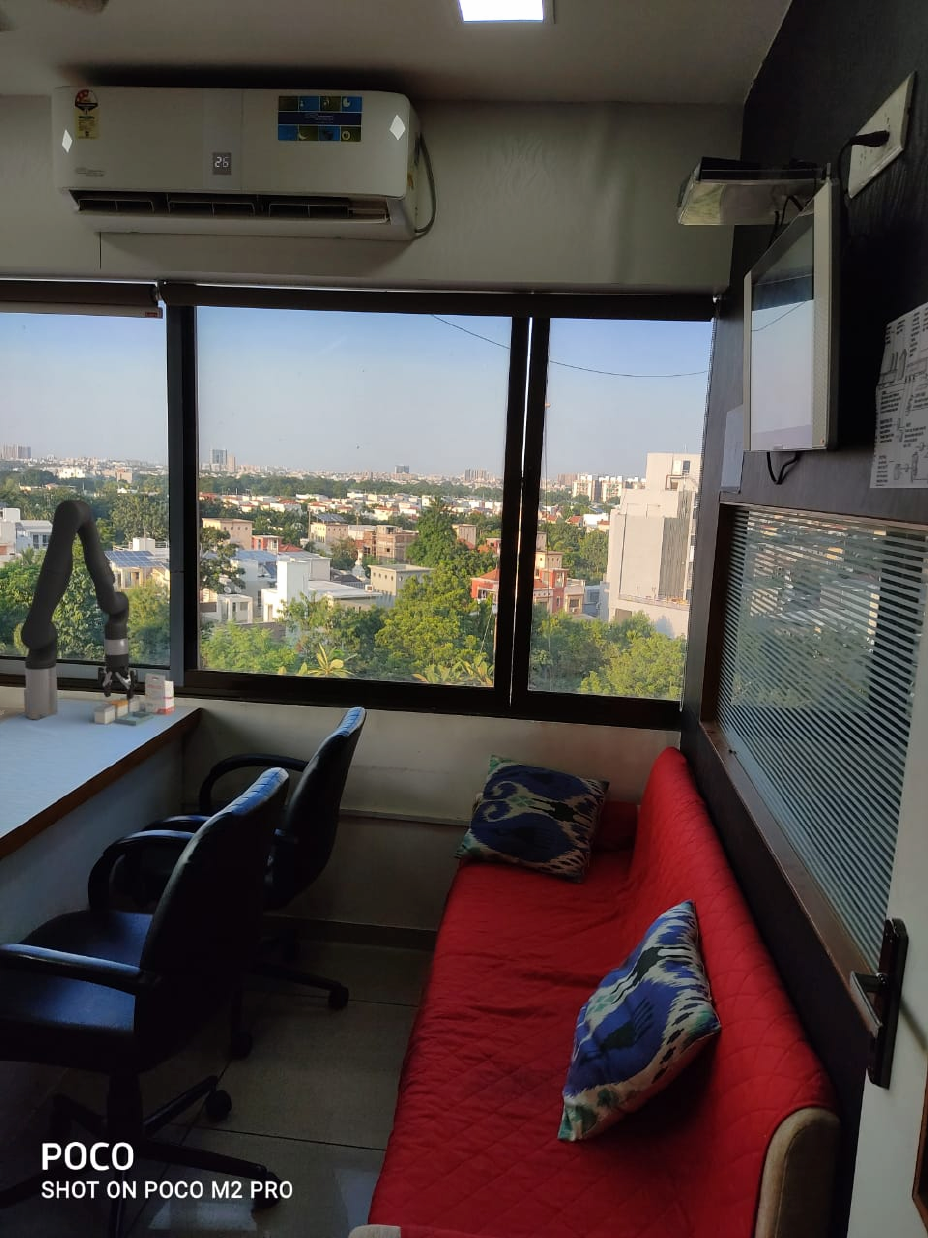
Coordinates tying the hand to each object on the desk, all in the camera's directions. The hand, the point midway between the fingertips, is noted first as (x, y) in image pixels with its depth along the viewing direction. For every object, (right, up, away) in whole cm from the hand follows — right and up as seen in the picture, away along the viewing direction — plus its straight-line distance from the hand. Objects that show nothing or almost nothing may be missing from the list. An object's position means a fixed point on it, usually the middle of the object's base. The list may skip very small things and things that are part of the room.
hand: (118, 698), depth 283 cm
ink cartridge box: (+11, -7, +9) cm, 15 cm away
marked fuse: (-1, -6, +1) cm, 6 cm away
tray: (+6, -8, -3) cm, 11 cm away
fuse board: (-1, -7, +1) cm, 7 cm away
